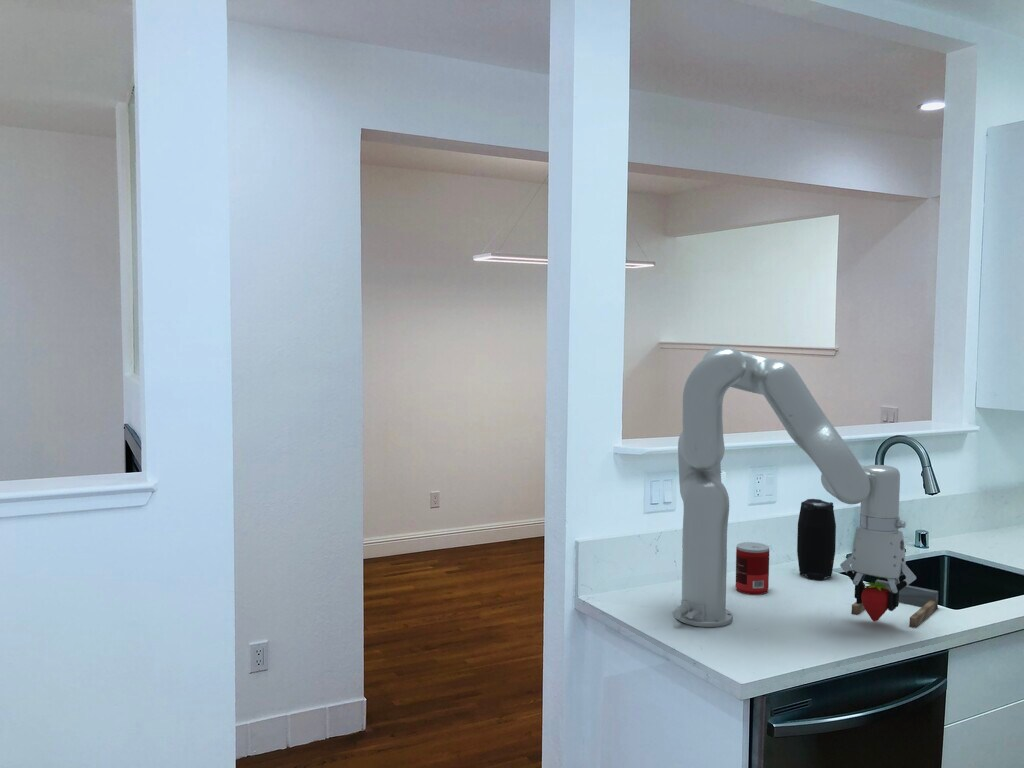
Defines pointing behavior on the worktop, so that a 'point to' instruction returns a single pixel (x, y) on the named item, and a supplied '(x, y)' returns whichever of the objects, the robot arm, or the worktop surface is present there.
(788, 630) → the worktop surface
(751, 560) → the canned food
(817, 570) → the portable speaker
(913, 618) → the frame
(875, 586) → the strawberry
